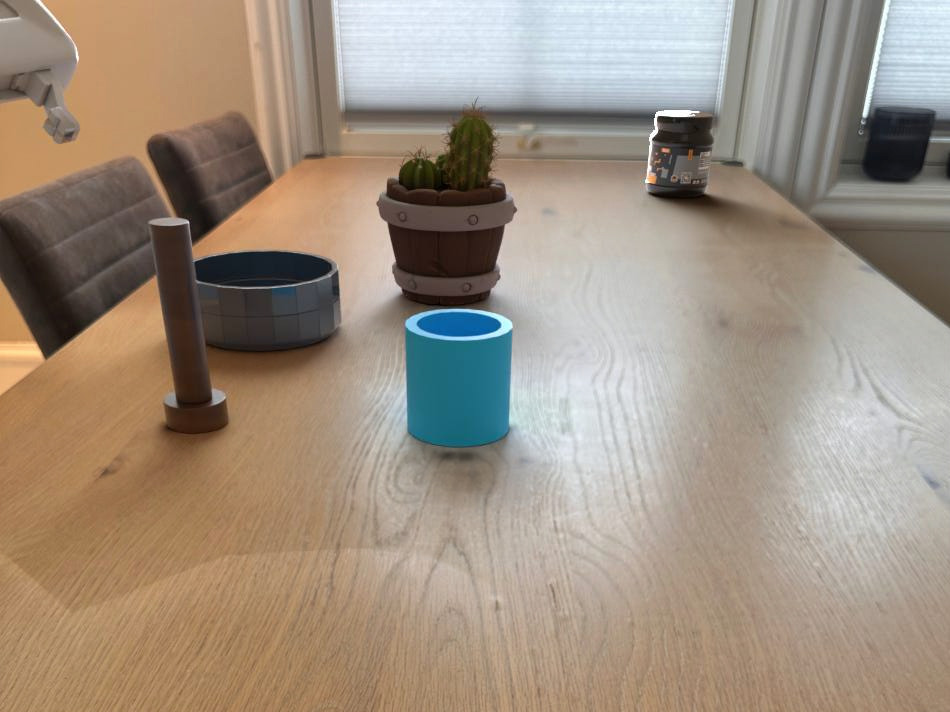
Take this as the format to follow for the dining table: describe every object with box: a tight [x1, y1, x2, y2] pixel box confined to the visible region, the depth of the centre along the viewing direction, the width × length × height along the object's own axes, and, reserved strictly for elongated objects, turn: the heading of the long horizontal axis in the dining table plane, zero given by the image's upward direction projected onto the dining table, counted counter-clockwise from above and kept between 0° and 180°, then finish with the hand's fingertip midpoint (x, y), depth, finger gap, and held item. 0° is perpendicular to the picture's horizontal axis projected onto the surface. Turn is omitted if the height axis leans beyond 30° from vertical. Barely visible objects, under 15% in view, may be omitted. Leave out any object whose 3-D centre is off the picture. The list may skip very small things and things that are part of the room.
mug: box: [404, 308, 514, 448], centre depth 78 cm, size 12×8×8 cm
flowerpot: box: [375, 95, 518, 306], centre depth 105 cm, size 14×15×20 cm
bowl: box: [194, 249, 342, 352], centre depth 97 cm, size 15×15×6 cm
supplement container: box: [645, 110, 715, 199], centre depth 164 cm, size 10×10×12 cm
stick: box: [147, 217, 230, 434], centre depth 74 cm, size 5×5×15 cm
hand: (20, 147), depth 69 cm, fingers open, 8 cm apart
